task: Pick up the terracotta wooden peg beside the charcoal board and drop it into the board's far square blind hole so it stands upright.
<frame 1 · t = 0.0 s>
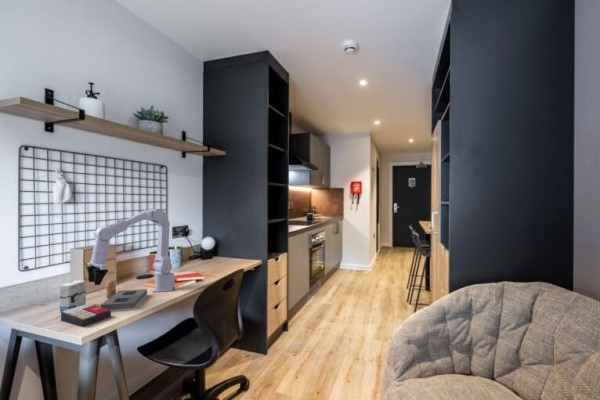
hand: (94, 283, 136), 11 cm above the table, tool pointing down, fingers open, 7 cm apart
peg: (111, 297, 148), on the table
board: (125, 302, 140), on the table
ink box: (73, 309, 132), on the table
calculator: (86, 320, 122), on the table
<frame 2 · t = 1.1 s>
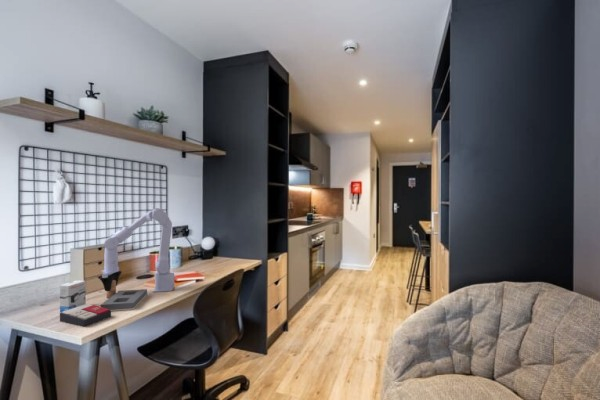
hand: (111, 288, 148), 4 cm above the table, tool pointing down, fingers open, 7 cm apart
nothing on the table moved.
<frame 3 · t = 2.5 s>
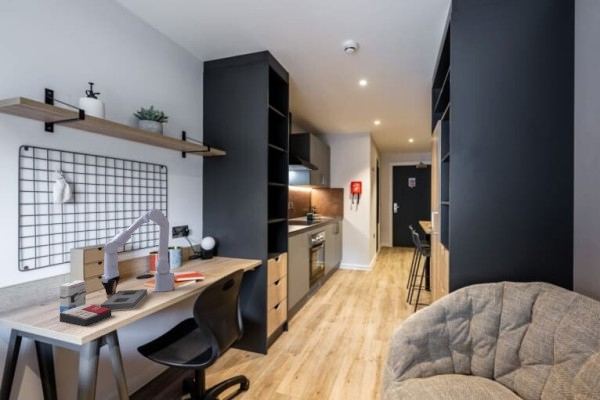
hand: (111, 293, 148), 2 cm above the table, tool pointing down, fingers closed on peg, 4 cm apart
peg: (111, 297, 148), on the table, touching gripper
everything else where it was.
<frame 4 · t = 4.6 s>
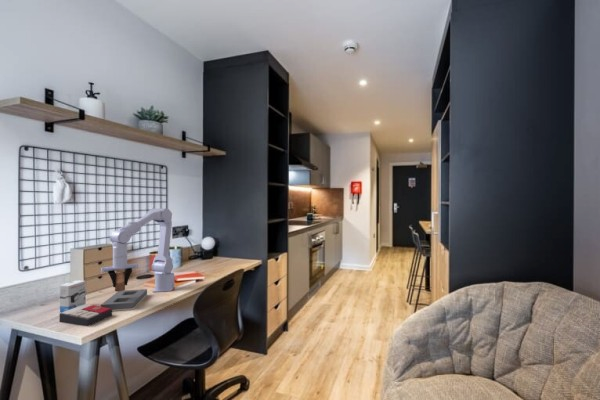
hand: (120, 285, 137), 9 cm above the table, tool pointing down, fingers closed on peg, 4 cm apart
peg: (120, 290, 137), point 7 cm above the table, touching gripper
everything else where it was.
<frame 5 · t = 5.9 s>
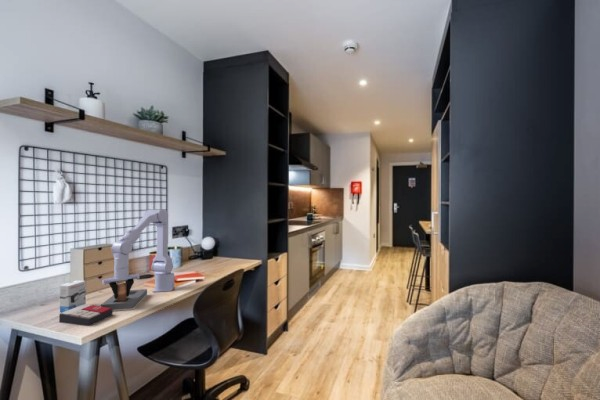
hand: (121, 297, 135), 4 cm above the table, tool pointing down, fingers closed on peg, 4 cm apart
peg: (121, 301, 136), point 2 cm above the table, touching gripper
everything else where it was.
when the fingers open (4 cm above the table, at t = 6.9 s): peg drops 1 cm, resting on board.
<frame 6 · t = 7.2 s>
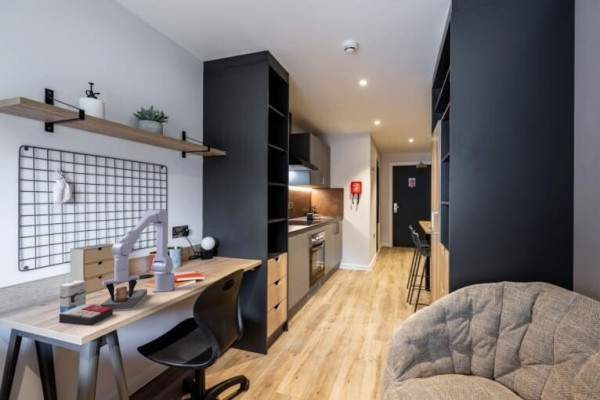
hand: (121, 298, 135), 4 cm above the table, tool pointing down, fingers open, 6 cm apart
peg: (121, 305, 136), point 1 cm above the table, touching board
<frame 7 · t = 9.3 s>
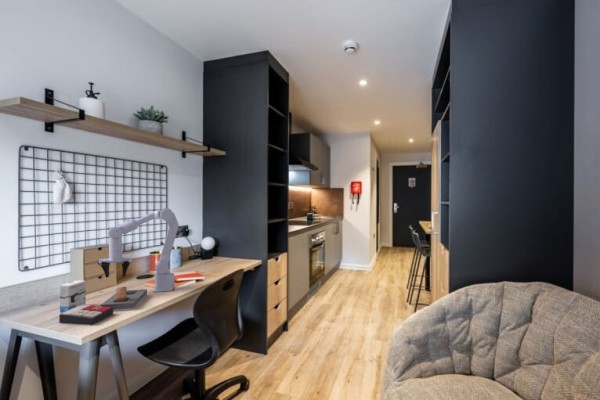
hand: (115, 276, 151), 9 cm above the table, tool pointing down, fingers open, 7 cm apart
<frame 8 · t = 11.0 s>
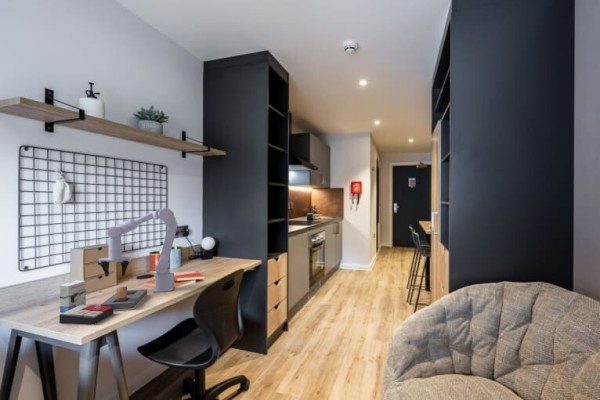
hand: (115, 275, 153), 9 cm above the table, tool pointing down, fingers open, 7 cm apart
at the end: peg 0.1 cm from the target spot on the board, point 0.5 cm above the board's base; peg tilted 1°; the gripper is holding nothing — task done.
